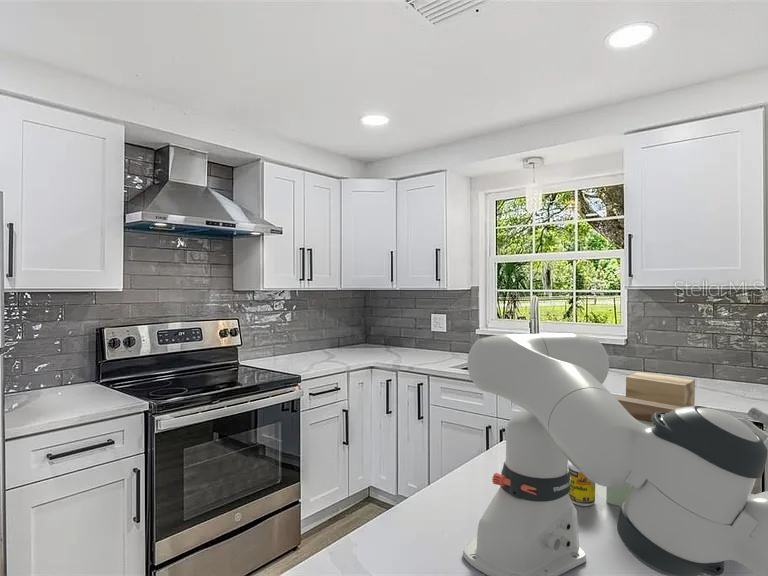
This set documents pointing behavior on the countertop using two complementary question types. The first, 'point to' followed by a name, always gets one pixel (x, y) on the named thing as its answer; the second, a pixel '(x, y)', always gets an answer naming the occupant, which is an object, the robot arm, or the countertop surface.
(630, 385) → the stand
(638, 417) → the batten
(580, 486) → the supplement bottle
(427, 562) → the countertop surface
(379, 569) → the countertop surface
